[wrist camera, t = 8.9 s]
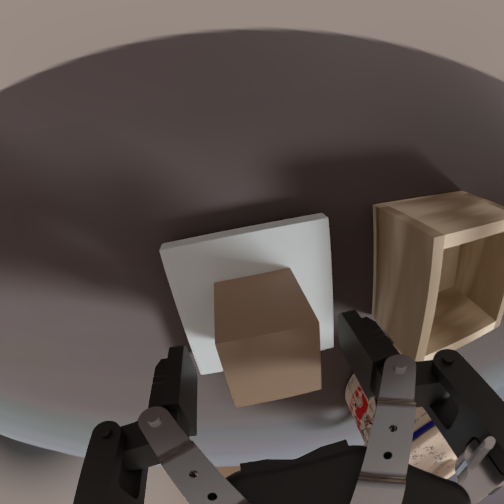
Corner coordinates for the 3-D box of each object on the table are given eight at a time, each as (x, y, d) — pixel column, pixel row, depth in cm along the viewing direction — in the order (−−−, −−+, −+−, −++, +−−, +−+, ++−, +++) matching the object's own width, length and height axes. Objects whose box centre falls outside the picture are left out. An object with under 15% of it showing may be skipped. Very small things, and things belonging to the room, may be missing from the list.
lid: (316, 208, 17) (375, 255, 10) (324, 329, 20) (362, 403, 14) (165, 237, 16) (136, 303, 10) (201, 354, 20) (200, 438, 13)
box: (462, 190, 17) (523, 214, 12) (452, 287, 20) (499, 326, 15) (372, 204, 17) (433, 237, 11) (371, 314, 20) (413, 368, 14)
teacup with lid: (352, 345, 21) (424, 471, 10) (441, 327, 22) (519, 414, 11) (327, 433, 25) (361, 529, 15) (402, 413, 26) (447, 491, 15)
